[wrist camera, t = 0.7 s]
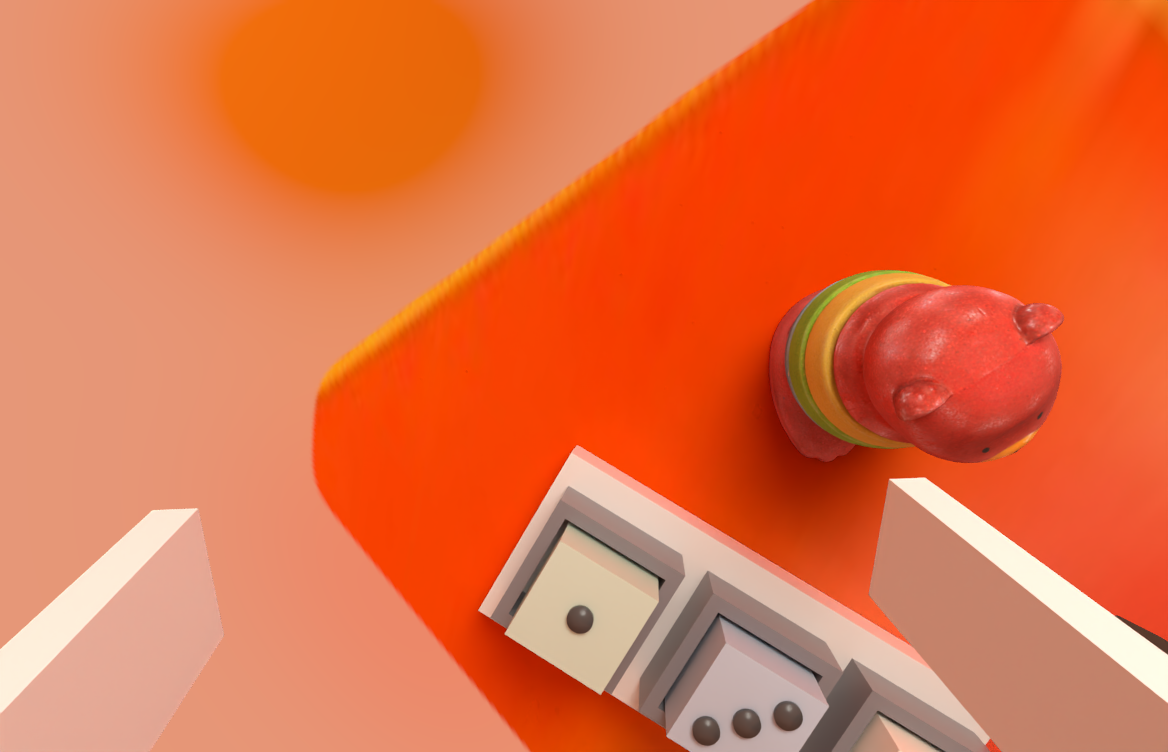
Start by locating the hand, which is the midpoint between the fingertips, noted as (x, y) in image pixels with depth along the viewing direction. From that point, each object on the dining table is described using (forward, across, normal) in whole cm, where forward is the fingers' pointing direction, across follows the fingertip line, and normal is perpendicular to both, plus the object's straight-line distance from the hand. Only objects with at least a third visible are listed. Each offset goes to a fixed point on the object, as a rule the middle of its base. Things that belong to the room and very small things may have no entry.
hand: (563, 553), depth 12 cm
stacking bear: (+26, -20, +4) cm, 33 cm away
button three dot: (+17, -11, +21) cm, 29 cm away
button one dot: (+20, -3, +16) cm, 26 cm away
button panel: (+22, -12, +22) cm, 34 cm away
